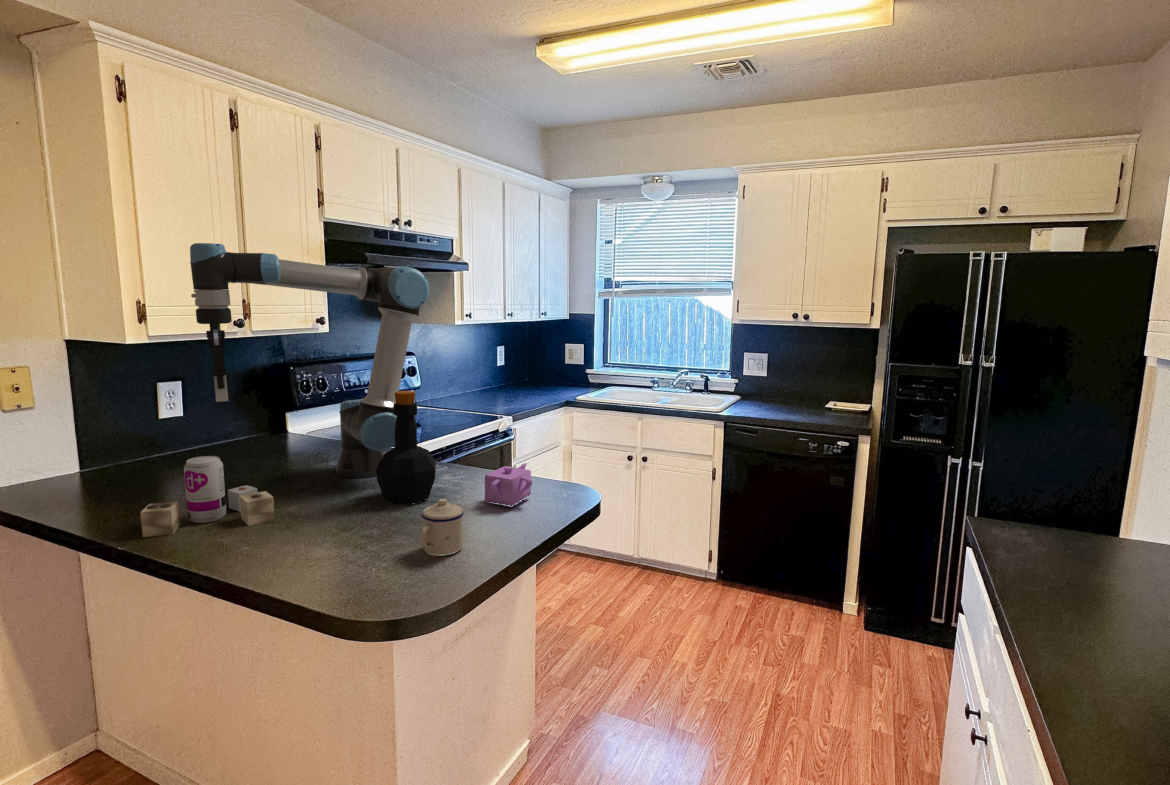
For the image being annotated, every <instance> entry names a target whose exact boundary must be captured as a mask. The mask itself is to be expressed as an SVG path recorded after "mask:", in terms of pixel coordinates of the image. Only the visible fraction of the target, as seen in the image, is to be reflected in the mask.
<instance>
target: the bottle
mask: <svg viewBox="0 0 1170 785" xmlns="http://www.w3.org/2000/svg"><path fill="white" fill-rule="evenodd" d="M415 399H416V391H415V390H414V391H413V390H399V391H398V392H395V400H396V403H395V404H394V405H393V406H394V415H396V416H397V418H396V425H395V445H394V446H393V447H392V448H390V449H389V450H387V451H386V452H385V453H383V454H384V456H383V457H382V459H381V461H380V463H379V465H378V467H377V469H376V474H377V475H376V481H377V483H378V486H379V489H380V491H381V493H382V497H383V499H384V502H386V501H387V502H386V503H389V502H390V504H392V505H413V504H412V503H416V502H419V501H422V500H425V499H428V500H429V498H430V496H431V492H432V489H433V487H434V486H433V485H434V483H435V480H436V472H437V471H436V470H437V469H436V467H437V465H436V464H437V463H436V460H435V459H434V457H433V455H432V453H431V452H430V451H429V449H428V448H427V449H426V448H424V447H422V446H419V445H418V427H417V420H416V416H417V414H418V402H415V401H416V400H415ZM425 501H426V500H425ZM422 502H423V501H422ZM419 503H420V502H419ZM416 504H417V503H416Z"/></svg>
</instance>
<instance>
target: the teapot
mask: <svg viewBox="0 0 1170 785" xmlns="http://www.w3.org/2000/svg"><path fill="white" fill-rule="evenodd" d="M527 465H528V463H522V464H521V465H520V467H519V468H518V467H513V466H509V465H508V466H506V465H504V466H502V467H500V468H498V469H495V470H491V471H490V472H488V473H486V474H484V502H485V501H486V502H493V503H499V504H505V505H510V506H512V505H514V504H515V503H517V502H519V501H520V500H522V499H524V498H525V497H527V496H529V495H530V494H531V495H532V493H531V491H532V490H531V489H532V486H533V480H532V471H531V470H530V469H526V466H527Z"/></svg>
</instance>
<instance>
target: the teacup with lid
mask: <svg viewBox="0 0 1170 785" xmlns="http://www.w3.org/2000/svg"><path fill="white" fill-rule="evenodd" d="M464 512H465V511H464V510H463V508H462V507H461V506H459V505H457V504H453V503H450V502H448V500H447V498H440V499H439V500H438V501H437V503H434V504H432V505H430V506H427V507H425V508H424V509H423V510H422V513H421V517H422V528H421V530H420V532H419V534H418V542H419V544H420V546H421V547H422V548H423V552H424V551H425V552H427V553H429V554H435V555H436V554H437V555H439V554H448V553H452V552H455V551H457V550H459V549H461V548H462V549H463V547H462V546H464V543H463V532H464V530H463V528H464V527H463V516H464ZM425 552H424V553H425Z"/></svg>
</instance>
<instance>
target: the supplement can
mask: <svg viewBox="0 0 1170 785" xmlns="http://www.w3.org/2000/svg"><path fill="white" fill-rule="evenodd" d="M183 474H184V485H185V486H184V488H185V500H186V502H185V503H186V512H187V519H188V520H189V521H190V522H192V523H196V524H206V523H212V522H216V521H218V520H221V519H222V518H224V516H225V515H226V514H227V504H226V503H227V502H226V490H225V489H226V488H225V487H226V486H225V475H224V474H225V473H224V463H223V461H221V458H220V457H219V456H216V455H205V456H204V455H202V456H195V457H192V458H189V459H187V460H186V463H185V465H184V466H183Z"/></svg>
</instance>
